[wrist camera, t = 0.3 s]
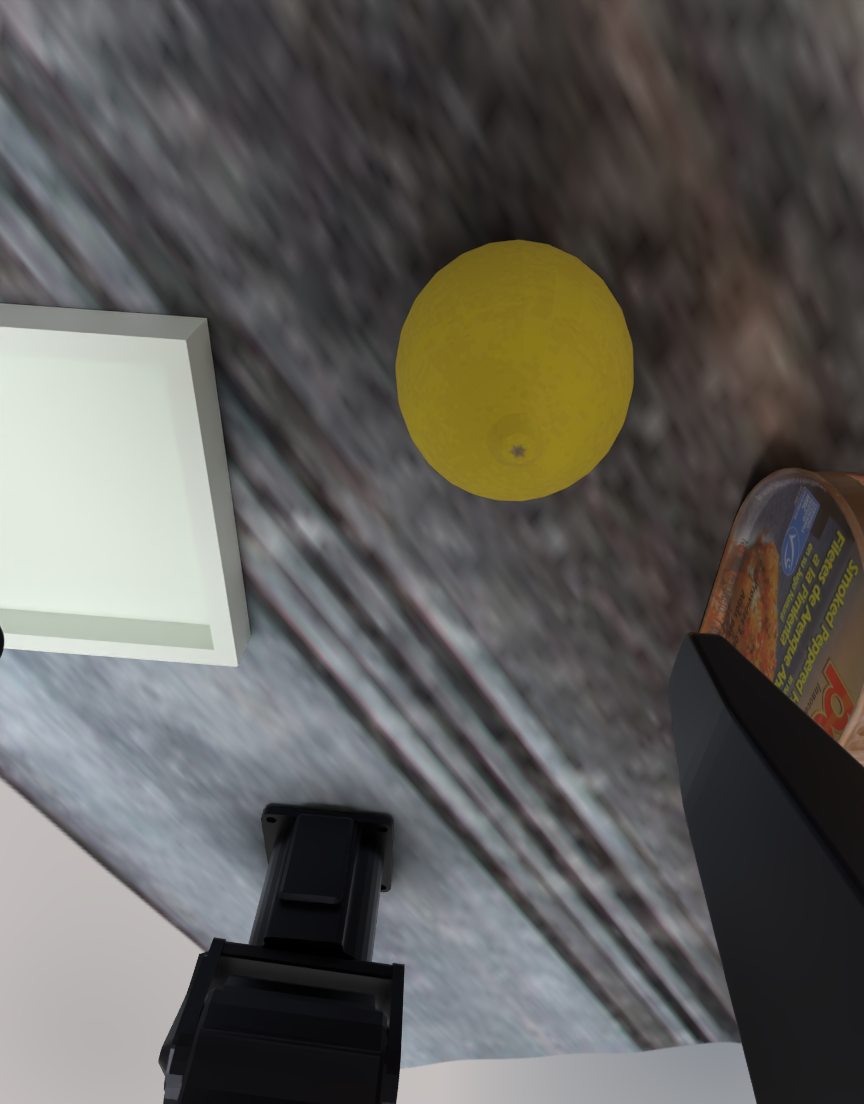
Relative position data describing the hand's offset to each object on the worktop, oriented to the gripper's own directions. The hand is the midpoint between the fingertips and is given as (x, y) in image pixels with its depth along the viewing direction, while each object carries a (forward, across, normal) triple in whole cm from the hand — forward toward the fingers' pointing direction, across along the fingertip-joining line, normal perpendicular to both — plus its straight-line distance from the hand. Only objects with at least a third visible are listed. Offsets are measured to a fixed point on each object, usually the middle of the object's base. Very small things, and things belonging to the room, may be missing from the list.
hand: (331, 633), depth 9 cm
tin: (+14, -12, +10) cm, 21 cm away
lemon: (+14, -3, 0) cm, 14 cm away
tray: (+14, +12, +7) cm, 20 cm away
